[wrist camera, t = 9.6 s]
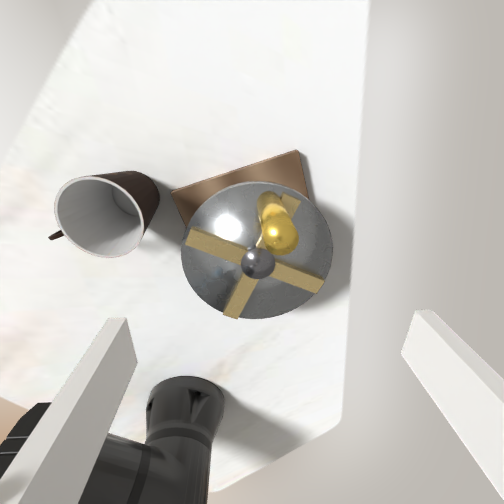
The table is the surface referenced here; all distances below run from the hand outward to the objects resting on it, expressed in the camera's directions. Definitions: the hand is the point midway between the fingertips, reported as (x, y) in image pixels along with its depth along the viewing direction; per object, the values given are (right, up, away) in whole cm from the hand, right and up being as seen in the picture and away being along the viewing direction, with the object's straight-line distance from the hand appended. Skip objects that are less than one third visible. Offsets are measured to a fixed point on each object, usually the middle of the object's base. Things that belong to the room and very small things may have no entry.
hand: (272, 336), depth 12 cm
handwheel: (0, +4, +21) cm, 21 cm away
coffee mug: (-18, +12, +24) cm, 32 cm away
